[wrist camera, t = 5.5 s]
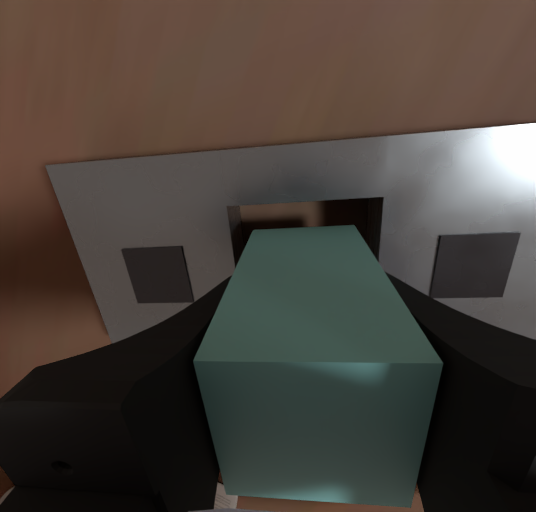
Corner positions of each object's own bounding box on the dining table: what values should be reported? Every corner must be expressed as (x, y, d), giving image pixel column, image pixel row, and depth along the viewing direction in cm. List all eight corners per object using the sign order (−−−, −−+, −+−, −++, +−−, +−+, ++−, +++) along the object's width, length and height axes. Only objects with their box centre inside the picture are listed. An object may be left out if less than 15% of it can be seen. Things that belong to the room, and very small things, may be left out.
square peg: (354, 224, 12) (442, 363, 5) (350, 310, 14) (410, 507, 7) (252, 229, 13) (193, 361, 5) (262, 311, 14) (225, 494, 7)
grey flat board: (563, 119, 12) (632, 115, 9) (499, 332, 16) (535, 367, 13) (85, 160, 14) (43, 165, 12) (140, 333, 18) (117, 362, 16)
